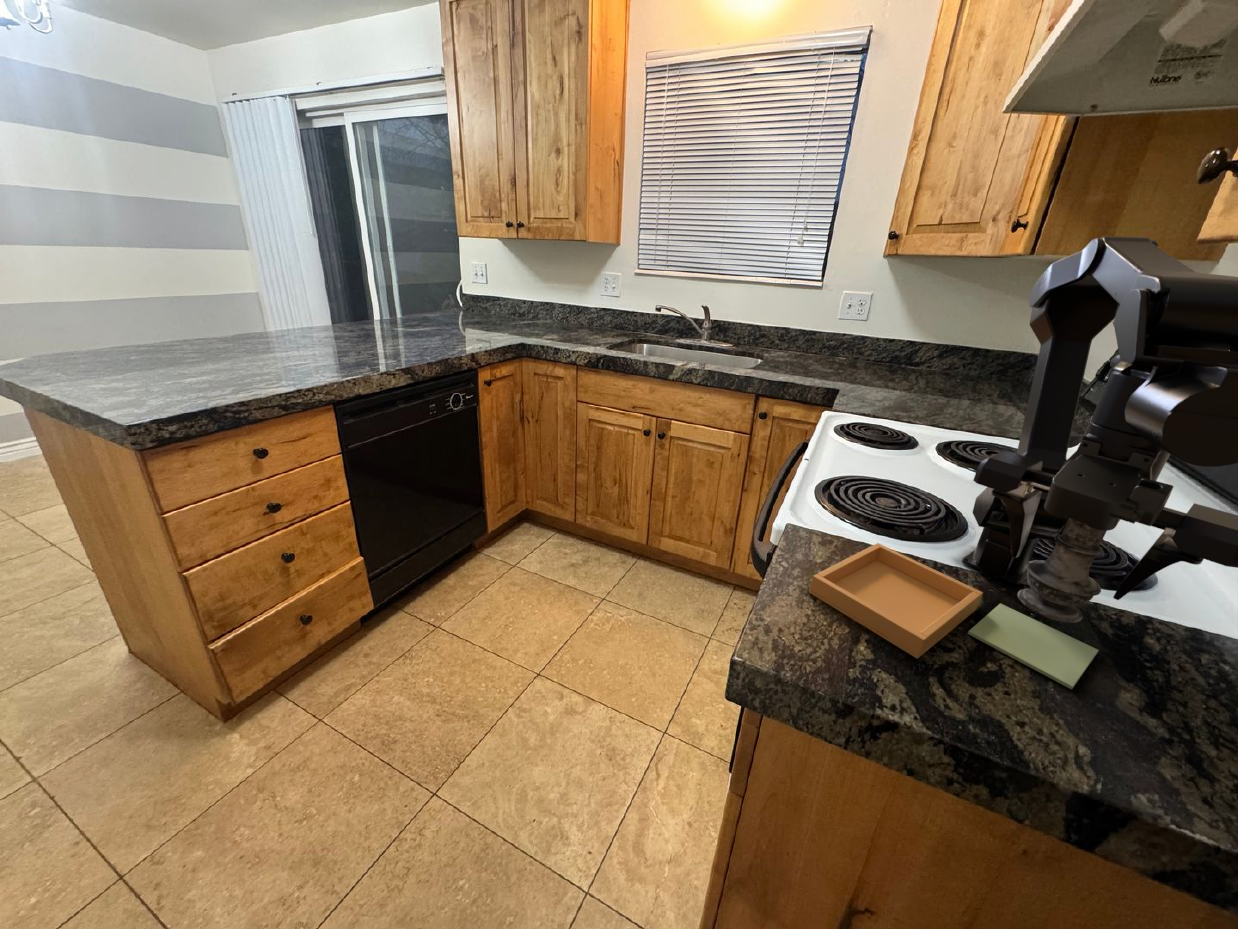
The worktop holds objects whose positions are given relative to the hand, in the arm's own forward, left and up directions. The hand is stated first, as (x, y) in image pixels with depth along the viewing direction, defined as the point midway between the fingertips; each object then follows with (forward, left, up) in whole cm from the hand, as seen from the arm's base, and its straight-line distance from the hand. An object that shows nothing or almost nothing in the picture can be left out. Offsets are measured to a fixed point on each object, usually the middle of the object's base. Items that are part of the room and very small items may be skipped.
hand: (1062, 575), depth 50 cm
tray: (+6, -12, -9) cm, 16 cm away
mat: (0, 0, -9) cm, 9 cm away
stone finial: (0, 0, -4) cm, 4 cm away
